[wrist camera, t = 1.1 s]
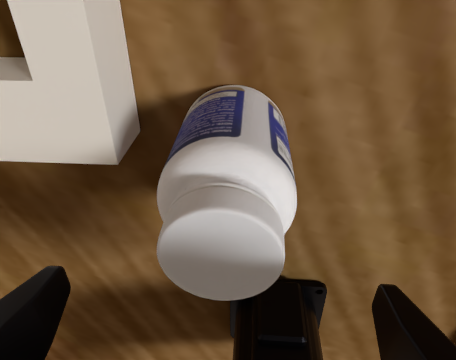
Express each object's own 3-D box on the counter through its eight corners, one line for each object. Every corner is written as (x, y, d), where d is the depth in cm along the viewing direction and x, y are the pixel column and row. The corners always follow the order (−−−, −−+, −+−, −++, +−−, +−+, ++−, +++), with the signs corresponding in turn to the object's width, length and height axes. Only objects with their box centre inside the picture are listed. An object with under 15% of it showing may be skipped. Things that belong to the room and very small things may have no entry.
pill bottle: (173, 156, 19) (118, 287, 12) (201, 66, 16) (153, 162, 9) (262, 187, 20) (264, 329, 12) (304, 106, 17) (340, 226, 9)
